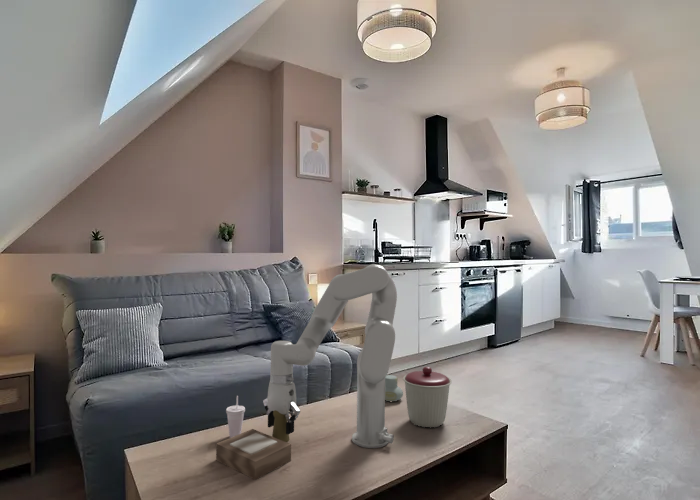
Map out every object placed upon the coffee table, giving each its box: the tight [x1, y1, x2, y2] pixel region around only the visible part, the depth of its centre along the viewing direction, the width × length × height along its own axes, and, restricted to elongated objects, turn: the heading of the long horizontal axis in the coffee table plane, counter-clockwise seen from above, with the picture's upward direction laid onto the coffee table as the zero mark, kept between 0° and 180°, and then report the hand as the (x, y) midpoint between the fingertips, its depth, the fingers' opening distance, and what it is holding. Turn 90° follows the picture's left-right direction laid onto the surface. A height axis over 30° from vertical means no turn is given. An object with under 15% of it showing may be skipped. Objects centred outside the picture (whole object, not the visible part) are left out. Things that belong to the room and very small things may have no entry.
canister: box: [402, 366, 452, 429], centre depth 159 cm, size 18×18×21 cm
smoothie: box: [225, 395, 246, 438], centre depth 144 cm, size 6×6×14 cm
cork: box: [271, 410, 290, 443], centre depth 142 cm, size 6×6×11 cm
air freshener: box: [385, 374, 404, 402], centre depth 184 cm, size 11×8×10 cm
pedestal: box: [215, 428, 292, 481], centre depth 128 cm, size 18×14×5 cm
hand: (280, 429), depth 142 cm, fingers open, 8 cm apart
